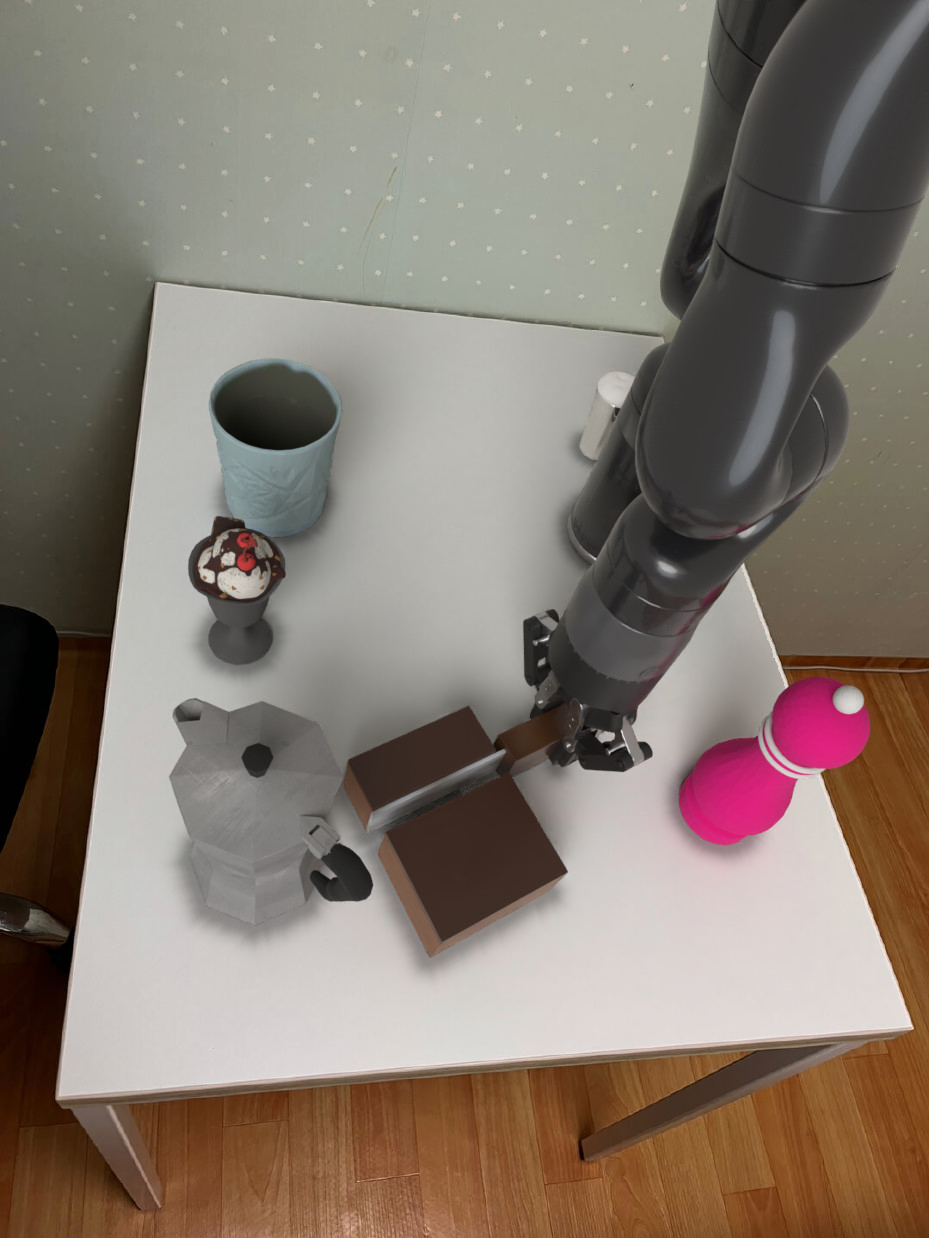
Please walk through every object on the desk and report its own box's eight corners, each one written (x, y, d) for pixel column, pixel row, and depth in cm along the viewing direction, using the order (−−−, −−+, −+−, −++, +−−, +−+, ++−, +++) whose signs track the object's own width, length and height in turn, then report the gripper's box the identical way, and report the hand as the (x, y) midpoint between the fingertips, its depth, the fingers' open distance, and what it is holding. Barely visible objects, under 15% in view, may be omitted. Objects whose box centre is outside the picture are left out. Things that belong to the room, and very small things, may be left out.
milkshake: (624, 469, 88) (662, 397, 80) (574, 462, 87) (606, 387, 79) (621, 437, 90) (657, 363, 82) (571, 429, 89) (603, 354, 81)
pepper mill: (706, 866, 66) (852, 765, 50) (655, 784, 69) (777, 663, 53) (774, 829, 69) (934, 722, 53) (723, 752, 72) (859, 628, 56)
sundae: (268, 684, 68) (269, 574, 55) (184, 661, 67) (166, 546, 55) (294, 616, 71) (301, 499, 59) (215, 594, 71) (204, 472, 58)
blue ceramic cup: (335, 465, 81) (345, 366, 71) (329, 552, 75) (339, 458, 65) (223, 453, 79) (217, 350, 69) (209, 541, 74) (200, 443, 64)
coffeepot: (140, 839, 59) (99, 729, 45) (246, 750, 64) (240, 624, 49) (296, 1003, 56) (309, 943, 41) (396, 896, 61) (439, 808, 46)
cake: (494, 796, 66) (509, 771, 62) (548, 891, 63) (568, 871, 59) (377, 854, 62) (385, 831, 58) (429, 958, 59) (442, 942, 55)
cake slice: (457, 733, 68) (469, 704, 64) (482, 776, 67) (496, 749, 63) (342, 785, 64) (347, 759, 60) (366, 832, 63) (373, 808, 59)
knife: (588, 707, 71) (604, 684, 68) (605, 731, 70) (621, 709, 67) (359, 817, 62) (364, 796, 59) (374, 846, 61) (380, 827, 58)
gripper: (735, 694, 53) (636, 796, 67) (608, 527, 59) (542, 655, 73) (642, 742, 50) (559, 839, 64) (517, 561, 55) (466, 688, 70)
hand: (550, 740), depth 68 cm, fingers closed on knife, 2 cm apart
